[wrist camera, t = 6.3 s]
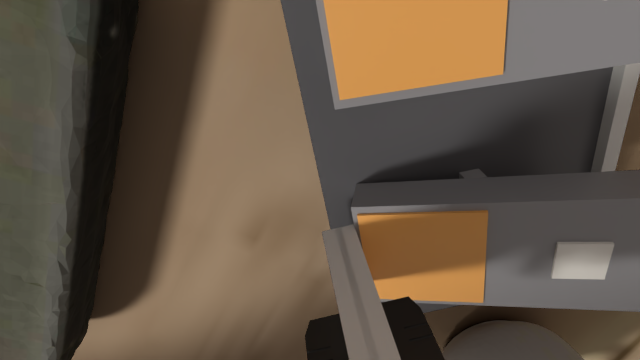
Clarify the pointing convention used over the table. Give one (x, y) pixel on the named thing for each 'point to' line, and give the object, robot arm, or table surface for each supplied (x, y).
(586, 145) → the switched outlet strip
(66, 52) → the network switch
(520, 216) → the panel
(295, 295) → the table surface
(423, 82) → the rocker
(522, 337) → the teacup
